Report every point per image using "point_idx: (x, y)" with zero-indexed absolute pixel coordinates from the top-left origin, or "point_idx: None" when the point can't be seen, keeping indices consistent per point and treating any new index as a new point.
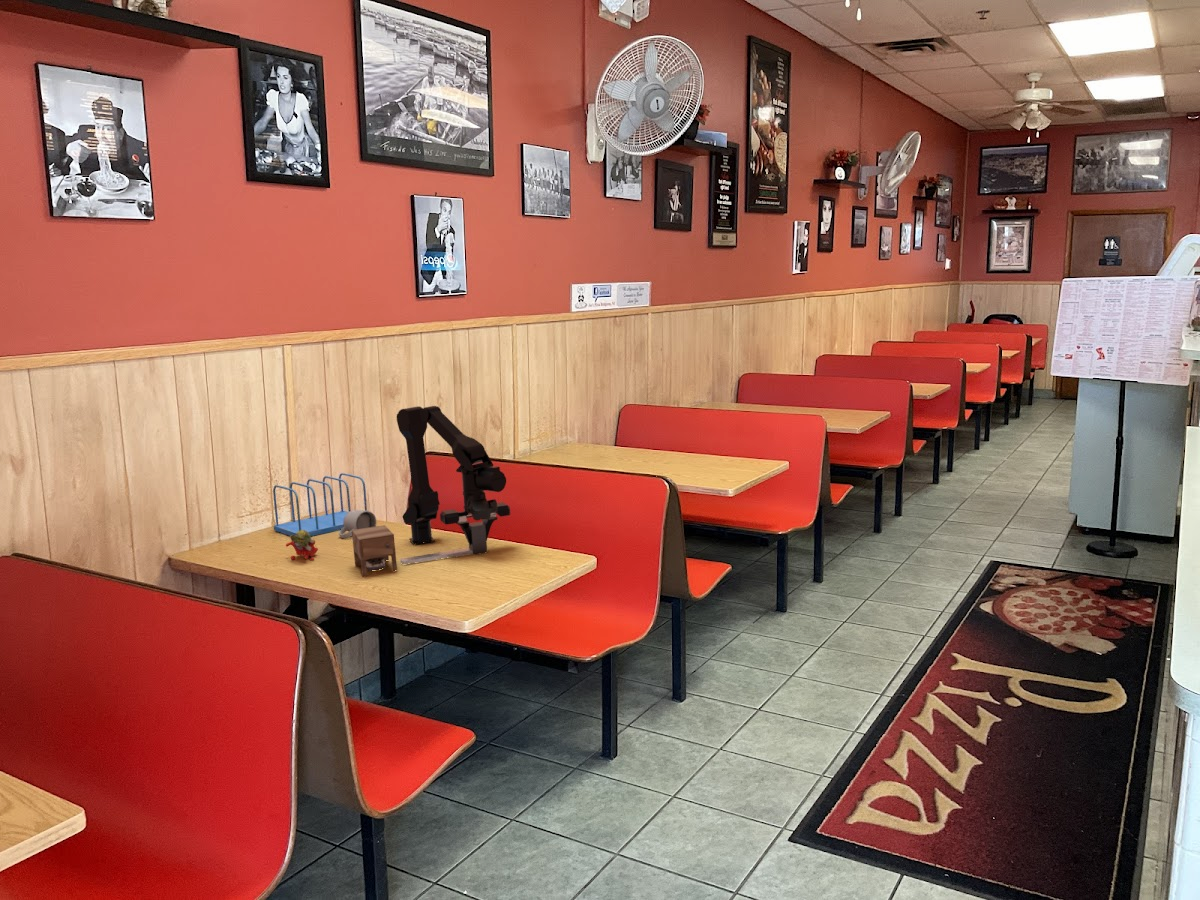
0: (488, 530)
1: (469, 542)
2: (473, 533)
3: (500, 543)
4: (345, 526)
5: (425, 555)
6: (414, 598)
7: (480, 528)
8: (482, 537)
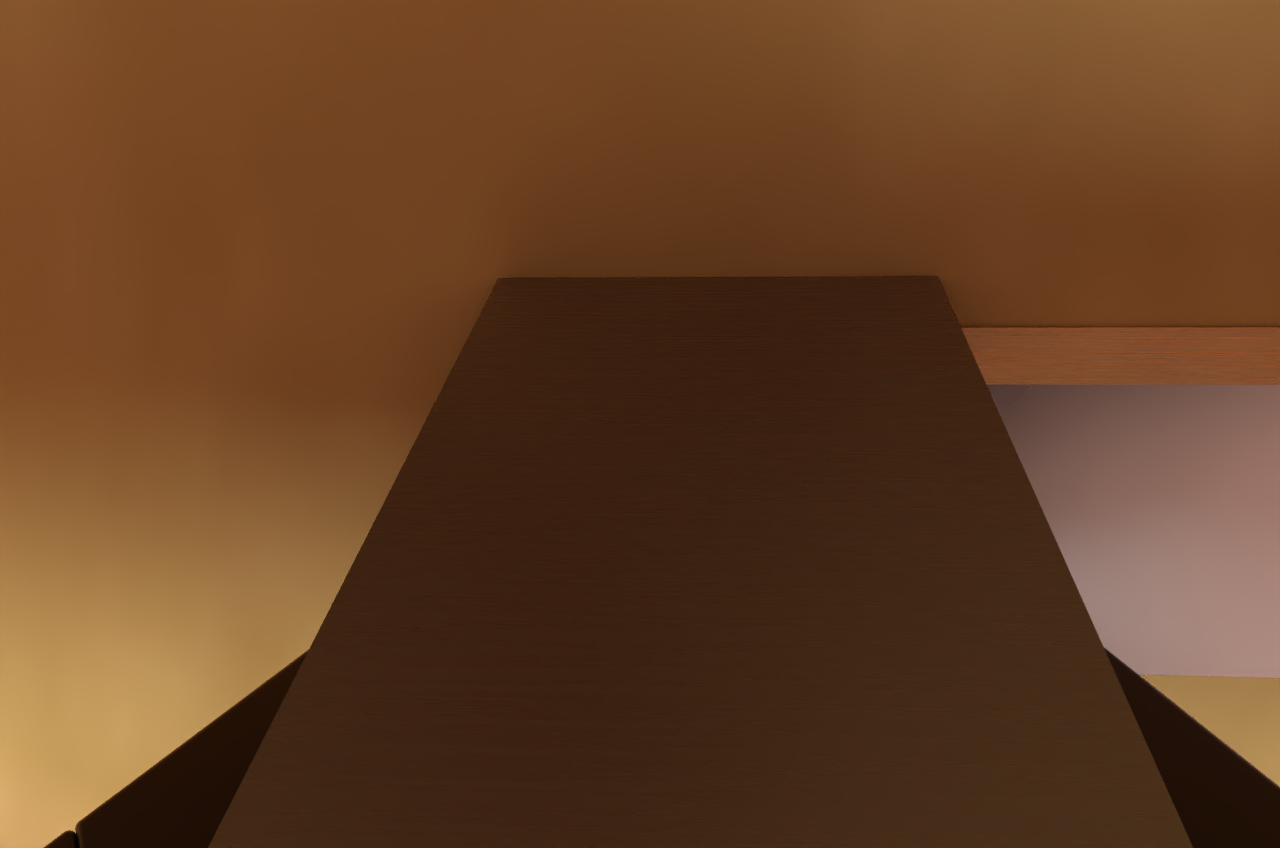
0: (97, 845)
1: None
2: (1040, 747)
3: (68, 825)
4: None
5: None
6: None
7: None
8: (539, 548)
